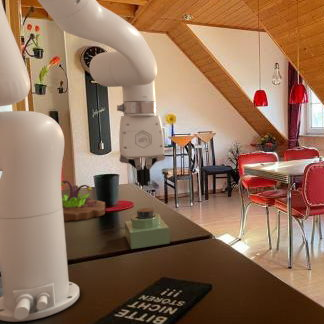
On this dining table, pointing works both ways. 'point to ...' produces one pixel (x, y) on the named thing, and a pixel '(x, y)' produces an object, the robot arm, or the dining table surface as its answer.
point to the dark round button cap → (145, 213)
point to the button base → (146, 232)
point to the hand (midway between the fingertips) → (143, 185)
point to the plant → (80, 205)
